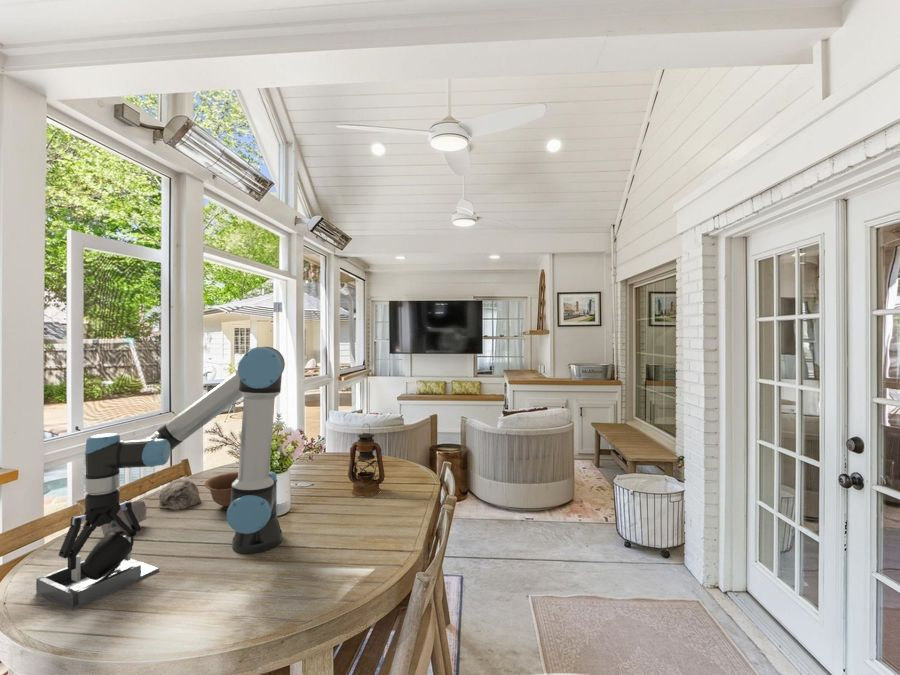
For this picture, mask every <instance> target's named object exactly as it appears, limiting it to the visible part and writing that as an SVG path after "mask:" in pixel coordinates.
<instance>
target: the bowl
mask: <svg viewBox="0 0 900 675" xmlns="http://www.w3.org/2000/svg"><path fill="white" fill-rule="evenodd" d="M237 478H238V471H237V472H229V473H228V472H227V473H223V474H219V475H216V476H213V477H210V478H209V479H207V480H205V481H204V485H203V486H204V487H205V488H206V489H207V490H209V491H210V494H211V498H212V500H213V502H214V503H216V504H217V505H218V506H222V509H223V510H226V511H227V510H228V507H229V505H230V501H231V489H232V483H233V482H234V481H235V480H236V479H237Z"/></svg>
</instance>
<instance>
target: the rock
mask: <svg viewBox="0 0 900 675" xmlns="http://www.w3.org/2000/svg"><path fill="white" fill-rule="evenodd" d="M158 499H159V505H158V509H170V510H174V511H176V510H182V509H186V508H189V507H192V506H195V505H197V504H199V503H200V502H201V501H202V500H201V497H200V492H199V489H198V487H197V485H196V484H195V483H194V482H193V481H190V480H189V479H182V478H177V479H173V480H172V481H171V482H170V483H168V484H167V485H166V486H165V487H164V489H163V490H162V491H161V492H160V494H159V496H158Z"/></svg>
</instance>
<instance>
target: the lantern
mask: <svg viewBox="0 0 900 675" xmlns="http://www.w3.org/2000/svg"><path fill="white" fill-rule="evenodd" d="M364 425H367V426H368V427H369V432H367V433H365V432H362V433H360V434H358V435H357V437H358V438H359V439H358V440H357V441H356V442H354V443H352V444H351V447H349V448H350V450H349V454H350V455H349V456H350V457H349V464H348V470H347V471H348V472H347V477H348V479H349V481H350V482H352V483H353V484H352V489H351V492H350V494H351V493H352V494H353V495H352V494H351V495H352V496H354V495H355V496H354V497H358V496H364V497H365V496H369V497H372V496H371V495H374V496H376V495H375V494H377V495H379V494H380V493H381V492H382V490H381V488H380V484H382V483H383V482H384V480H385V476H386V475H385V469H384V461H383V457H382V448H381V446H380V444H379V443H377V442H375V439H374V437H375V436H376V435H375V434H373V433H370V432H371V427H370V425H369V424H368V423H364V424H363V426H362V427H364ZM374 451H375V455H376V457H375V455H374V454H373V453H374ZM357 452H359V455H358V456H357V460H356V454H357ZM375 458H376V460H375ZM355 460H356V461H355ZM372 460H373V461H372ZM368 461H371V462H368ZM358 462H362V463H366V464H367V465H366V466H364V467H363V468H362V467H361V466H359V465H358ZM373 464H375V466H374V465H373ZM370 466H371V467H372V468H373V469H374V470H373V471H367V470H365V469H367V468H368V467H370ZM377 467H378V474H376V470H377ZM358 470H360V471H359V472H358ZM377 477H378V478H377ZM380 491H381V492H380ZM379 492H380V493H379ZM378 493H379V494H378Z"/></svg>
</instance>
